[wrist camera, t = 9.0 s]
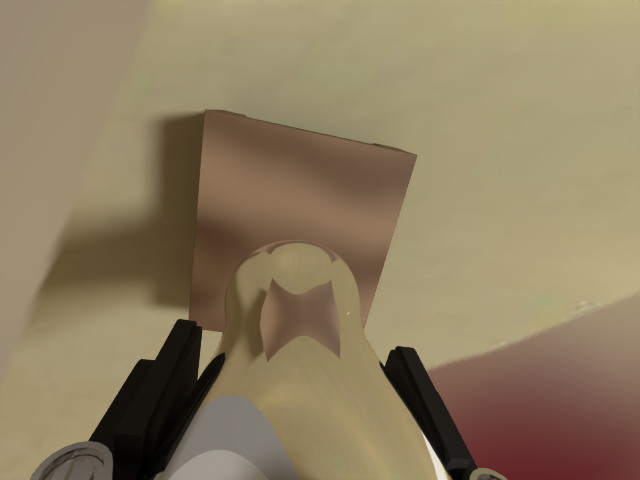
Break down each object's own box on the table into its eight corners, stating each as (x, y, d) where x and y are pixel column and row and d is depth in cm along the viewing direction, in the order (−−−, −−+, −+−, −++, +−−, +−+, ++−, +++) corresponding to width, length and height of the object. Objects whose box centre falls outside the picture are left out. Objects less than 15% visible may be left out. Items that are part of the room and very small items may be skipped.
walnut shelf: (220, 109, 21) (205, 109, 17) (397, 148, 23) (417, 155, 19) (203, 296, 26) (187, 327, 22) (349, 316, 27) (358, 348, 24)
